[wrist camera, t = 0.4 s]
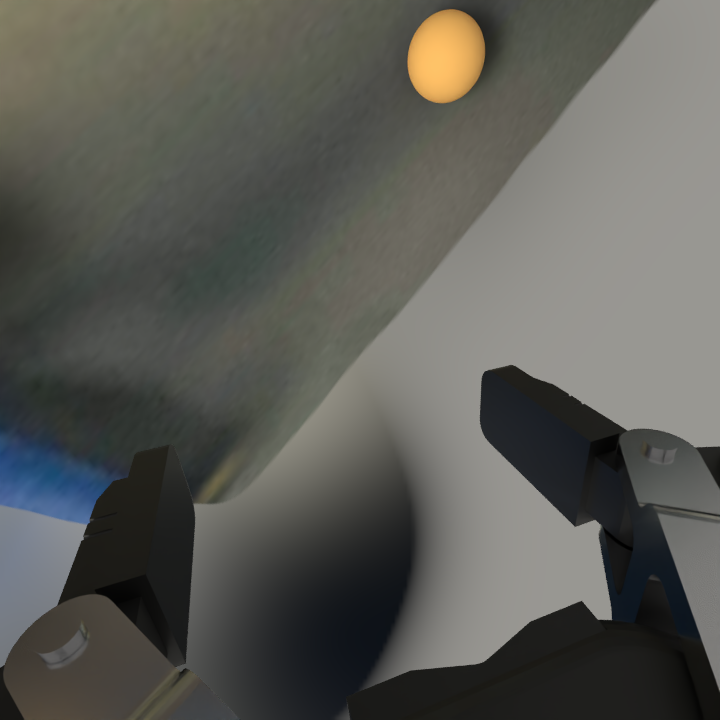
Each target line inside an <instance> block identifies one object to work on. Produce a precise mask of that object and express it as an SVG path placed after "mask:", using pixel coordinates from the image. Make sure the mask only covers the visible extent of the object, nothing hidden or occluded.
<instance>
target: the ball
mask: <svg viewBox="0 0 720 720" xmlns="http://www.w3.org/2000/svg"><path fill="white" fill-rule="evenodd" d="M484 59H485V43H484V38H483V34H482V32H481V29H480V27H479V26H478V24H477V23H476V21H475V20H474V19H473V18H472V17H471V16H469V15H468V14H466V13H465V12H462V11H459V10H454V9H448V10H442V11H439V12H437V13H435V14H433V15H431V16H430V17H429V18H427V19H426V20H425V21H424V22H423V23H422V24H421V25H420V27H419V28H418V29H417V31H416V33H415V34H414V36H413V39H412V41H411V44H410V47H409V52H408V71H409V76H410V79H411V81H412V84H413V85H414V87H415V89H416V90H417V91H418V93H419V94H420V95H422V96H423V97H424V98H426V99H428V100H429V101H432V102H436V103H447V102H452V101H455V100H457V99H459V98H461V97H462V96H463V95H465V94H466V93H467V92H468V91H469V90H470V89H471V88H472V87H473V85H474V84H475V83H476V81H477V79H478V78H479V76H480V73H481V70H482V68H483V64H484Z"/></svg>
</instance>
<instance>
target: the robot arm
mask: <svg viewBox="0 0 720 720" xmlns="http://www.w3.org/2000/svg"><path fill="white" fill-rule="evenodd" d="M480 424H481V429H482V432H483V434H484V436H485V438H486V439H487V440H488V441H489V443H490V444H491V445H492V446H493V447H494V448H495V449H497V450H498V451H499V452H500V453H501V454H502V455H503V456H504V457H505V458H506V459H507V460H508V461H509V462H510V463H511V464H512V465H513V466H514V467H515V468H516V469H517V470H518V471H519V472H520V473H521V474H522V475H523V476H524V477H525V478H526V479H527V480H528V481H529V482H530V483H531V484H532V485H533V486H534V487H535V488H536V489H537V490H538V491H539V492H540V493H541V494H542V495H543V496H544V497H545V498H547V500H548V501H549V502H550V503H551V504H552V505H553V506H554V507H556V508H557V509H558V510H559V511H560V512H561V513H562V514H563V515H564V516H565V517H566V518H567V519H568V520H569V521H570V522H571V523H572V524H573V525H574V526H575V527H576V526H579V525H582V524H584V523H587V522H590V521H593V520H596V521H597V522H598V523H599V524H601V525H600V530H599V542H600V547H601V553H602V559H603V564H604V570H605V575H606V580H607V587H608V592H609V597H610V603H611V611H612V620H598V619H597V618H596V617H595V616H594V615H593V614H592V612H591V611H590V610H589V609H588V608H587V607H586V605H585V604H584V603H583V602H582V601H581V602H578V603H575V604H573V605H570V606H568V607H566V608H563V609H561V610H558V611H556V612H553V613H551V614H548V615H546V616H543V617H541V618H539V619H536V620H534V621H531V622H529V624H527V625H526V626H525V627H524V628H523V629H522V630H520V631H519V632H518V633H517V634H516V635H515V636H514V637H512V638H511V639H510V640H509V641H508V642H507V643H506V644H505V645H503V646H502V647H501V648H500V649H499V650H498V651H497V652H496V653H494V654H493V655H492V656H491V657H490V658H489V659H487V660H486V661H485V662H483V663H480V664H476V665H466V666H455V667H444V668H434V669H423V670H413V671H409V672H406V673H404V674H401V675H399V676H396V677H394V678H392V679H389V680H387V681H385V682H382V683H380V684H377V685H375V686H372V687H370V688H367V689H365V690H362V691H360V692H357V693H355V694H352V695H350V696H348V697H346V699H347V704H348V710H349V716H350V720H720V447H697V448H695V447H694V446H693V445H691V444H690V443H689V442H687V441H685V440H683V439H681V438H680V437H677V436H675V435H672V434H670V433H666V432H663V431H658V430H653V429H633V430H629V431H627V430H626V429H624V428H622V427H621V426H619V425H618V424H616V423H614V422H613V421H611V420H610V419H608V418H606V417H605V416H603V415H602V414H600V413H598V412H597V411H595V410H593V409H592V408H590V407H589V406H587V405H585V404H582V403H581V402H580V401H579V400H577V399H576V398H574V397H573V396H569V394H568V393H566V392H564V391H563V390H561V389H559V388H558V387H556V386H555V385H553V384H550V383H547V382H544V381H541V380H538V379H535V378H533V377H531V376H530V375H528V374H526V373H525V372H523V371H522V370H520V369H519V368H517V367H516V366H513V365H509V366H505V367H501V368H496V369H492V370H488V371H485V372H484V374H483V376H482V383H481V406H480ZM194 529H195V512H194V505H193V500H192V496H191V493H190V490H189V487H188V484H187V481H186V478H185V475H184V472H183V470H182V467H181V464H180V461H179V458H178V455H177V452H176V450H175V448H174V446H173V445H172V444H170V445H166V446H162V447H158V448H153V449H149V450H145V451H141V452H137V453H136V454H135V456H134V459H133V462H132V466H131V469H130V472H129V476H128V478H124V479H120V480H116V481H113V482H112V483H111V485H110V486H109V487H108V488H107V489H106V490H105V491H104V492H103V494H102V495H101V496H100V497H99V498H98V499H97V501H96V504H95V506H94V509H93V512H92V514H91V517H90V523H88V525H87V528H86V530H85V533H84V536H83V537H84V540H82V541H81V544H80V547H79V549H78V552H77V554H76V557H75V560H74V562H73V565H72V568H71V570H70V573H69V576H68V579H67V581H66V584H65V586H64V589H63V592H62V594H61V597H60V600H59V602H58V605H57V606H56V607H54V608H53V609H51V610H50V611H48V612H47V613H45V614H44V615H42V616H41V617H40V618H39V619H38V620H36V621H35V622H34V623H33V624H32V625H31V626H30V627H29V628H28V629H27V630H26V631H25V632H24V633H23V634H22V636H21V637H20V638H19V639H18V641H17V642H16V644H15V645H14V646H13V648H12V650H11V651H10V653H9V655H8V658H7V660H6V663H5V665H4V666H2V667H1V668H0V720H240V719H239V718H238V717H237V716H236V715H235V714H234V713H233V712H232V711H231V710H230V709H229V708H228V706H227V705H226V704H224V702H223V701H222V700H220V698H219V697H218V696H217V695H216V694H215V693H214V692H213V691H212V690H211V689H210V688H209V687H208V686H207V685H206V684H205V683H204V682H203V681H202V680H201V679H200V678H199V677H198V676H197V675H195V674H194V673H193V672H192V671H190V670H188V669H186V668H185V669H184V670H183V671H182V672H180V671H179V670H177V669H176V668H175V667H177V666H180V665H182V664H185V663H186V652H187V636H188V622H189V607H190V592H191V577H192V562H193V547H194V532H195V530H194Z"/></svg>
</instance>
